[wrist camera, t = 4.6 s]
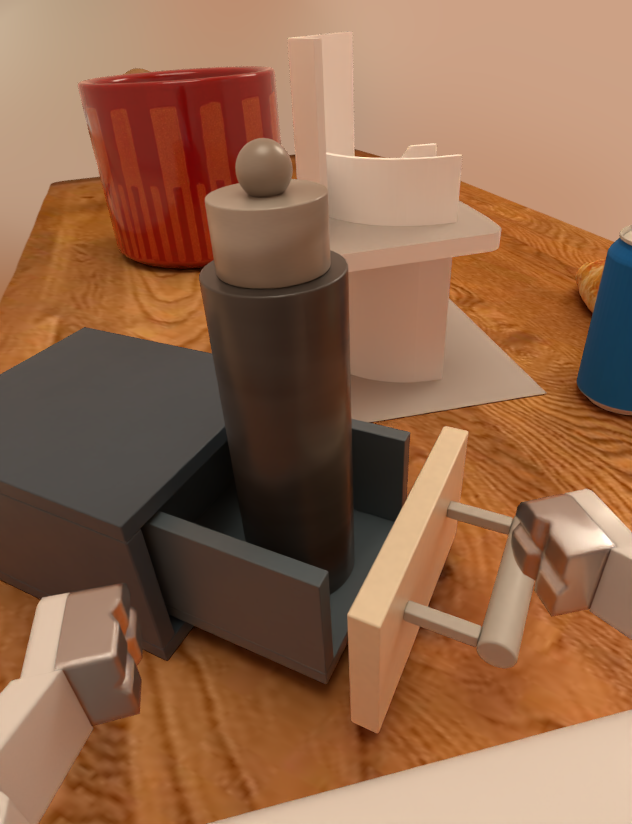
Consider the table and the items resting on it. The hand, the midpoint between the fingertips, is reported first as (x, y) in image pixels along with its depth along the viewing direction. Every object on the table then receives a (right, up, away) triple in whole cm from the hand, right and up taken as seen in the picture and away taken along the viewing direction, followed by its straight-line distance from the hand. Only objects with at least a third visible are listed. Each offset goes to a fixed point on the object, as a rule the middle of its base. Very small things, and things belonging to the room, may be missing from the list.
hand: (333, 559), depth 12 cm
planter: (-16, +26, +67) cm, 73 cm away
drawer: (0, -6, +17) cm, 17 cm away
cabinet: (-11, -4, +22) cm, 25 cm away
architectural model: (+4, +10, +41) cm, 43 cm away
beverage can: (+22, +4, +31) cm, 38 cm away
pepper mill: (-1, -4, +17) cm, 17 cm away
